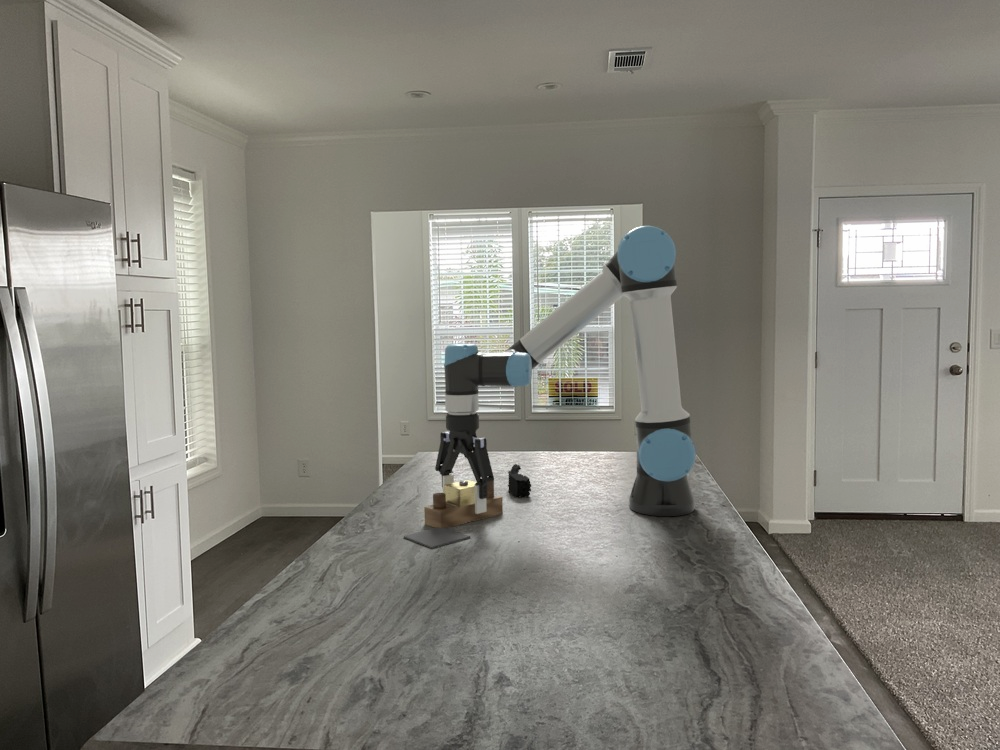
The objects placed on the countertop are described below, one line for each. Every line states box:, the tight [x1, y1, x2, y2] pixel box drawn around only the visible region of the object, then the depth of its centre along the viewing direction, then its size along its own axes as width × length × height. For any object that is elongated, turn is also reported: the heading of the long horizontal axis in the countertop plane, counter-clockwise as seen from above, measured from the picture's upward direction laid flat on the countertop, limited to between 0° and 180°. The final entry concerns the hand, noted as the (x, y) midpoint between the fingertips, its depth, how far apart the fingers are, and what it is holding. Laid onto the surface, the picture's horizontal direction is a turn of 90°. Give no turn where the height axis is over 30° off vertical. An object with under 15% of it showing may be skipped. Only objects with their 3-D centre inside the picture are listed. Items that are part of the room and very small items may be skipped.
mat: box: [403, 527, 471, 549], centre depth 156 cm, size 10×10×1 cm
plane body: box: [423, 480, 504, 529], centre depth 169 cm, size 18×6×8 cm, turn 131°
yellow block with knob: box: [444, 479, 477, 507], centre depth 169 cm, size 7×6×5 cm
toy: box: [507, 464, 532, 499], centre depth 194 cm, size 15×5×7 cm, turn 9°
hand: (464, 507), depth 169 cm, fingers open, 11 cm apart
